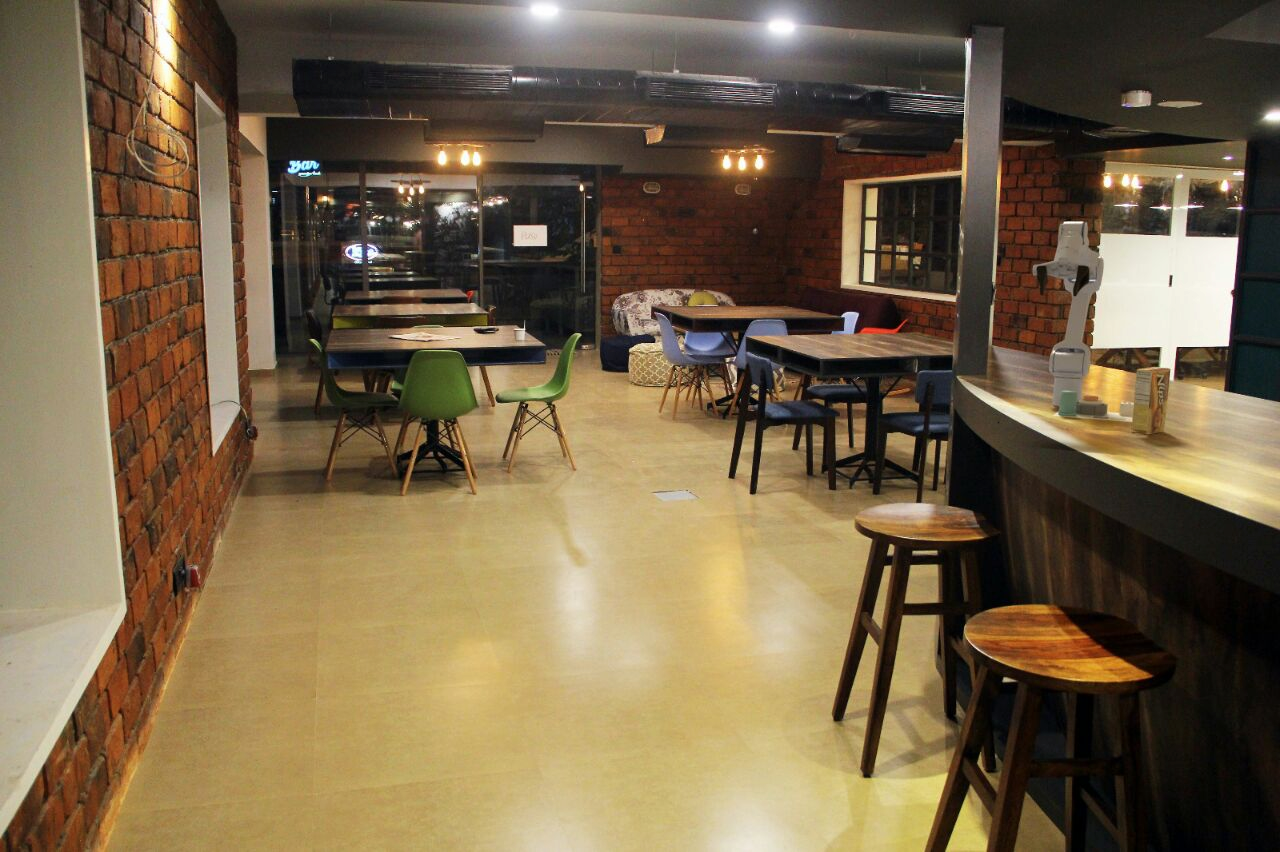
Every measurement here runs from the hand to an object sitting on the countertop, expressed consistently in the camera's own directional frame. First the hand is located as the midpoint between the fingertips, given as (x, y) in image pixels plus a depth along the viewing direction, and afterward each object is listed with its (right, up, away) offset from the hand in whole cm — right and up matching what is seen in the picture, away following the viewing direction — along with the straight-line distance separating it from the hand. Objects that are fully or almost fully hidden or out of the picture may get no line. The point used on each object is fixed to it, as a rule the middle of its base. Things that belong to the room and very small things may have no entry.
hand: (1057, 292), depth 266 cm
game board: (+16, -31, +11) cm, 36 cm away
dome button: (+14, -27, +14) cm, 34 cm away
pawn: (+7, -30, +11) cm, 33 cm away
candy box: (+18, -35, -9) cm, 40 cm away
